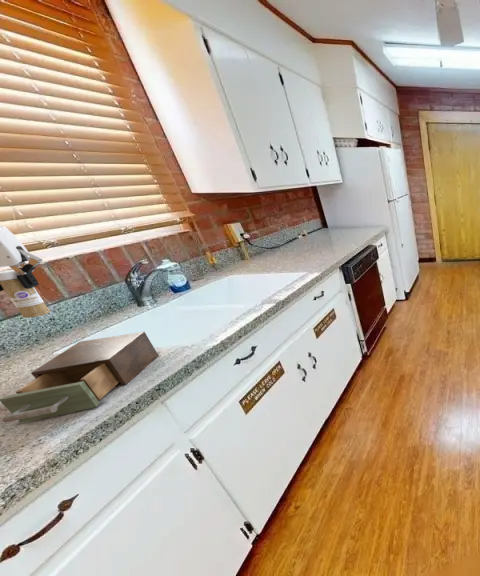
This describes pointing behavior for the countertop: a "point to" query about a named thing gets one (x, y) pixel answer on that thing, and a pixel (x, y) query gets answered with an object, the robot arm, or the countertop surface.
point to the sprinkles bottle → (22, 295)
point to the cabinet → (107, 356)
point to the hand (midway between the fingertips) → (17, 287)
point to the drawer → (60, 393)
